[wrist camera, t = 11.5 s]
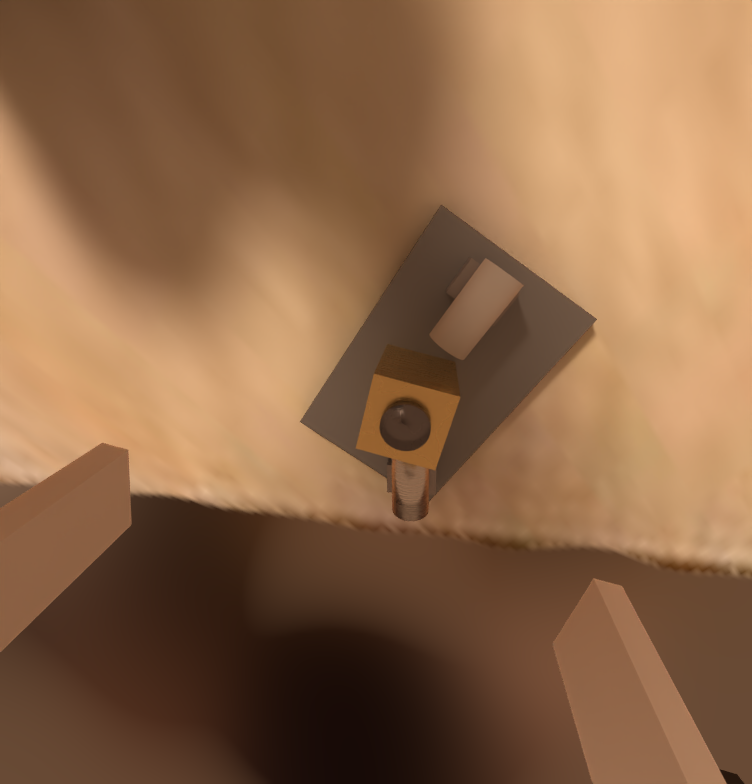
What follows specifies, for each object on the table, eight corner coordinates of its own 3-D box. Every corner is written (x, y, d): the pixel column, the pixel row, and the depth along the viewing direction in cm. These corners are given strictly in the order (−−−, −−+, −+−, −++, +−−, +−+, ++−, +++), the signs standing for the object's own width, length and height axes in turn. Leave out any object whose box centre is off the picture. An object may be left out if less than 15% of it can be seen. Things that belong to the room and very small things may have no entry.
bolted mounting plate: (441, 206, 24) (442, 198, 20) (590, 315, 26) (626, 334, 21) (304, 415, 31) (280, 448, 26) (427, 494, 32) (425, 540, 28)
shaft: (388, 426, 29) (381, 454, 26) (437, 428, 29) (437, 456, 25) (389, 485, 31) (383, 519, 27) (435, 487, 31) (435, 522, 27)
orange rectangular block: (387, 343, 27) (371, 377, 21) (455, 361, 27) (461, 401, 20) (372, 405, 29) (353, 453, 22) (435, 422, 29) (435, 476, 22)
